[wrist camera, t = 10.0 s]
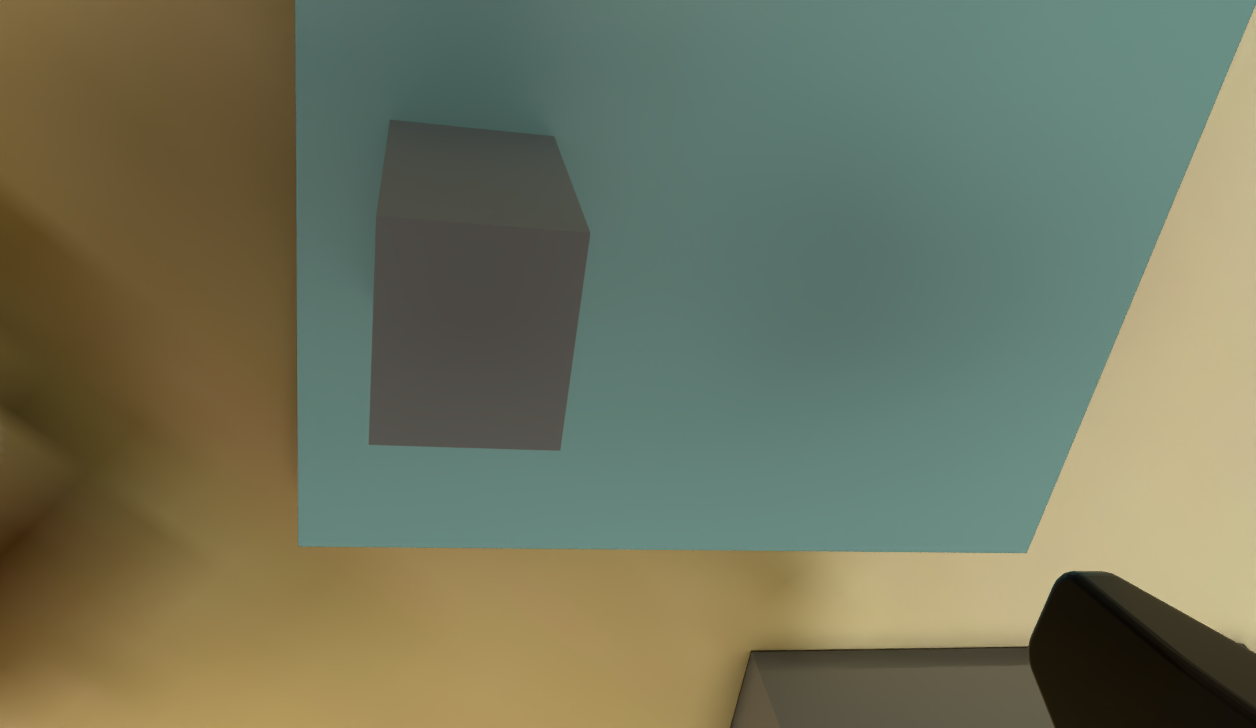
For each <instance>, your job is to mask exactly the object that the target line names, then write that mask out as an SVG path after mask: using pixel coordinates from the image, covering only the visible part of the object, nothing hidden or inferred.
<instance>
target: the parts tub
mask: <svg viewBox="0 0 1256 728" xmlns="http://www.w3.org/2000/svg"><path fill="white" fill-rule="evenodd" d="M1240 645H1241V646H1243V647H1245V648H1247V647H1246V646H1245V645H1244V644H1240ZM1247 649H1248V648H1247ZM731 728H1054V725H1053V723H1052V720H1051V718H1050V715H1049V713H1048V710H1047V708H1046V705H1045V703H1044V700H1043V698H1042V695H1041V693H1040V690H1039V688H1038V685H1037V683H1036V680H1035V678H1034V675H1033V673H1032V670H1031V667H1030V662H1029V654H1028V648H972V649H907V650H841V651H776V652H751V655H750V659H749V663H748V666H747V670H746V674H745V677H744V681H743V685H742V688H741V692H740V696H739V699H738V703H737V707H736V710H735V714H734V718H733V721H732V725H731Z"/></svg>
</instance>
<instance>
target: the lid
mask: <svg viewBox="0 0 1256 728" xmlns="http://www.w3.org/2000/svg"><path fill="white" fill-rule="evenodd" d="M1255 5H1256V0H295V55H296V231H297V408H298V546H306V547H416V548H526V549H635V550H745V551H854V552H964V553H1027V551H1028V548H1029V546H1030V544H1031V541H1032V539H1033V536H1034V534H1035V532H1036V529H1037V527H1038V524H1039V522H1040V520H1041V517H1042V515H1043V512H1044V510H1045V508H1046V505H1047V503H1048V501H1049V498H1050V496H1051V493H1052V491H1053V489H1054V486H1055V484H1056V481H1057V479H1058V477H1059V474H1060V472H1061V469H1062V467H1063V465H1064V462H1065V460H1066V457H1067V455H1068V453H1069V450H1070V448H1071V445H1072V443H1073V441H1074V438H1075V436H1076V433H1077V431H1078V429H1079V426H1080V424H1081V421H1082V419H1083V417H1084V414H1085V412H1086V410H1087V407H1088V405H1089V402H1090V400H1091V398H1092V395H1093V393H1094V390H1095V388H1096V386H1097V383H1098V381H1099V378H1100V376H1101V374H1102V371H1103V369H1104V366H1105V364H1106V362H1107V359H1108V357H1109V354H1110V352H1111V350H1112V347H1113V345H1114V342H1115V340H1116V338H1117V335H1118V333H1119V330H1120V328H1121V326H1122V323H1123V321H1124V319H1125V316H1126V314H1127V311H1128V309H1129V307H1130V304H1131V302H1132V299H1133V297H1134V295H1135V292H1136V290H1137V287H1138V285H1139V283H1140V280H1141V278H1142V275H1143V273H1144V271H1145V268H1146V266H1147V263H1148V261H1149V259H1150V256H1151V254H1152V251H1153V249H1154V247H1155V244H1156V242H1157V239H1158V237H1159V235H1160V232H1161V230H1162V228H1163V225H1164V223H1165V220H1166V218H1167V216H1168V213H1169V211H1170V208H1171V206H1172V204H1173V201H1174V199H1175V196H1176V194H1177V192H1178V189H1179V187H1180V184H1181V182H1182V180H1183V177H1184V175H1185V172H1186V170H1187V168H1188V165H1189V163H1190V160H1191V158H1192V156H1193V153H1194V151H1195V148H1196V146H1197V144H1198V141H1199V139H1200V137H1201V134H1202V132H1203V129H1204V127H1205V125H1206V122H1207V120H1208V117H1209V115H1210V113H1211V110H1212V108H1213V105H1214V103H1215V101H1216V98H1217V96H1218V93H1219V91H1220V89H1221V86H1222V84H1223V81H1224V79H1225V77H1226V74H1227V72H1228V69H1229V67H1230V65H1231V62H1232V60H1233V57H1234V55H1235V53H1236V50H1237V48H1238V46H1239V43H1240V41H1241V38H1242V36H1243V34H1244V31H1245V29H1246V26H1247V24H1248V22H1249V19H1250V17H1251V14H1252V12H1253V10H1254V7H1255Z"/></svg>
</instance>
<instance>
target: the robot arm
mask: <svg viewBox="0 0 1256 728" xmlns="http://www.w3.org/2000/svg"><path fill="white" fill-rule="evenodd" d="M1028 654H1029V662H1030V667H1031V670H1032V673H1033V675H1034V678H1035V680H1036V683H1037V685H1038V688H1039V690H1040V693H1041V695H1042V698H1043V700H1044V703H1045V705H1046V708H1047V710H1048V713H1049V715H1050V718H1051V720H1052V723H1053V725H1054V728H1256V653H1254V652H1252V651H1250V650H1249V649H1247V648H1245V647H1243V646H1241V645H1240V644H1238V643H1236V642H1234V641H1233V640H1231V639H1229V638H1227V637H1225V636H1224V635H1222V634H1220V633H1218V632H1216V631H1215V630H1213V629H1211V628H1209V627H1208V626H1206V625H1204V624H1202V623H1200V622H1199V621H1197V620H1195V619H1193V618H1191V617H1190V616H1188V615H1186V614H1184V613H1182V612H1181V611H1179V610H1177V609H1175V608H1174V607H1172V606H1170V605H1168V604H1166V603H1165V602H1163V601H1161V600H1159V599H1157V598H1156V597H1154V596H1152V595H1150V594H1148V593H1147V592H1145V591H1143V590H1141V589H1140V588H1138V587H1136V586H1134V585H1132V584H1131V583H1129V582H1127V581H1125V580H1123V579H1122V578H1120V577H1118V576H1116V575H1114V574H1112V573H1108V572H1102V571H1071V572H1067V573H1064V574H1063V575H1062V576H1061V577H1059V578H1058V579H1057V580H1056V582H1055V584H1054V585H1053V587H1052V590H1051V592H1050V594H1049V597H1048V599H1047V601H1046V603H1045V606H1044V608H1043V610H1042V612H1041V615H1040V617H1039V619H1038V622H1037V624H1036V626H1035V628H1034V631H1033V633H1032V635H1031V638H1030V641H1029V648H1028Z"/></svg>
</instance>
